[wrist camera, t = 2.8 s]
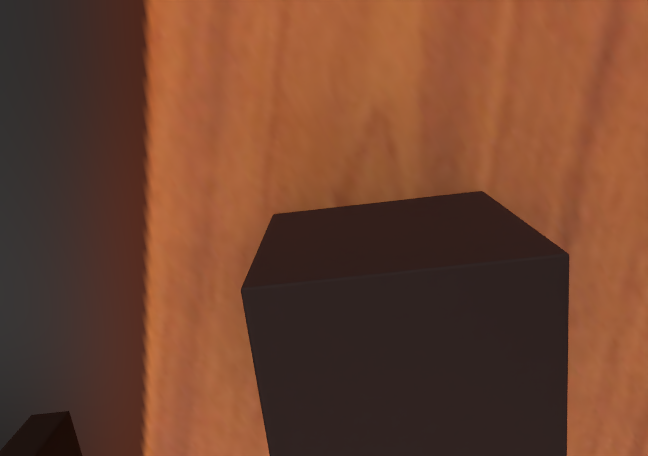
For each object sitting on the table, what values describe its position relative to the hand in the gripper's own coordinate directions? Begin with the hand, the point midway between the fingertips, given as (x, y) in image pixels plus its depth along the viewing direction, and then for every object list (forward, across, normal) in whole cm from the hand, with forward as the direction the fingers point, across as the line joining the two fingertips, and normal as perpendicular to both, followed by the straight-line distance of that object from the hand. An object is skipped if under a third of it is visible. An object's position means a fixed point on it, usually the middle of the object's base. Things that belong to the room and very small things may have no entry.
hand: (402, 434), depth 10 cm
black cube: (+6, 0, 0) cm, 6 cm away
